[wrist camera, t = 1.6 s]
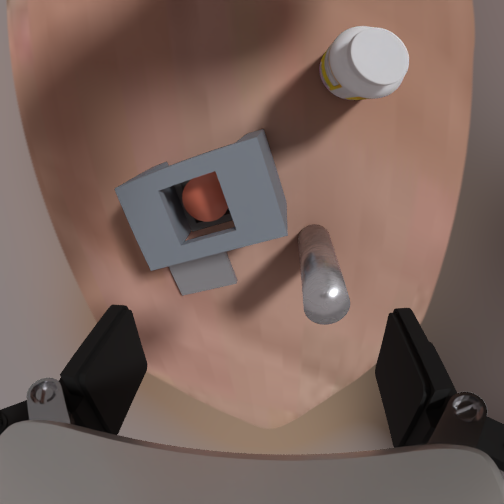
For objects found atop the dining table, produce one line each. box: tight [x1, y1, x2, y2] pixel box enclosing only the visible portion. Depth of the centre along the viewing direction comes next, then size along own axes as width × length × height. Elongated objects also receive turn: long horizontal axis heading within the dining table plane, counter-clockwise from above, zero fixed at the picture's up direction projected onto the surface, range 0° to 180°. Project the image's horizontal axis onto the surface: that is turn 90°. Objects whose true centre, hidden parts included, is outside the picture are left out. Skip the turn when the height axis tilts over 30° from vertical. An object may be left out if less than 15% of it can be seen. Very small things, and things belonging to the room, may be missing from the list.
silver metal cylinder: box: [298, 224, 350, 324], centre depth 33 cm, size 4×4×14 cm
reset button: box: [182, 171, 228, 222], centre depth 33 cm, size 5×5×3 cm
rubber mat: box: [169, 251, 237, 295], centre depth 42 cm, size 8×6×1 cm
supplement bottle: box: [319, 26, 409, 100], centre depth 24 cm, size 7×7×13 cm
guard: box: [115, 129, 288, 271], centre depth 33 cm, size 14×9×10 cm, turn 108°
